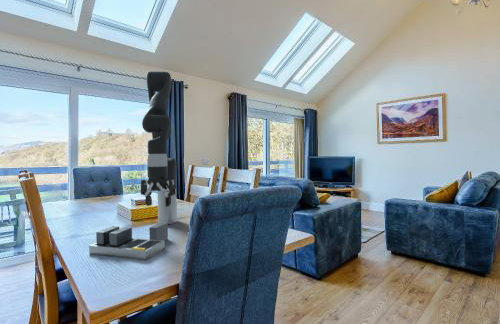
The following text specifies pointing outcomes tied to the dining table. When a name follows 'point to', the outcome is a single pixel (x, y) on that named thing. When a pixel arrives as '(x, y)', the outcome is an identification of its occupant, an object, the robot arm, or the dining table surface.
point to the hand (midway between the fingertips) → (158, 205)
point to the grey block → (159, 231)
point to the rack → (124, 244)
